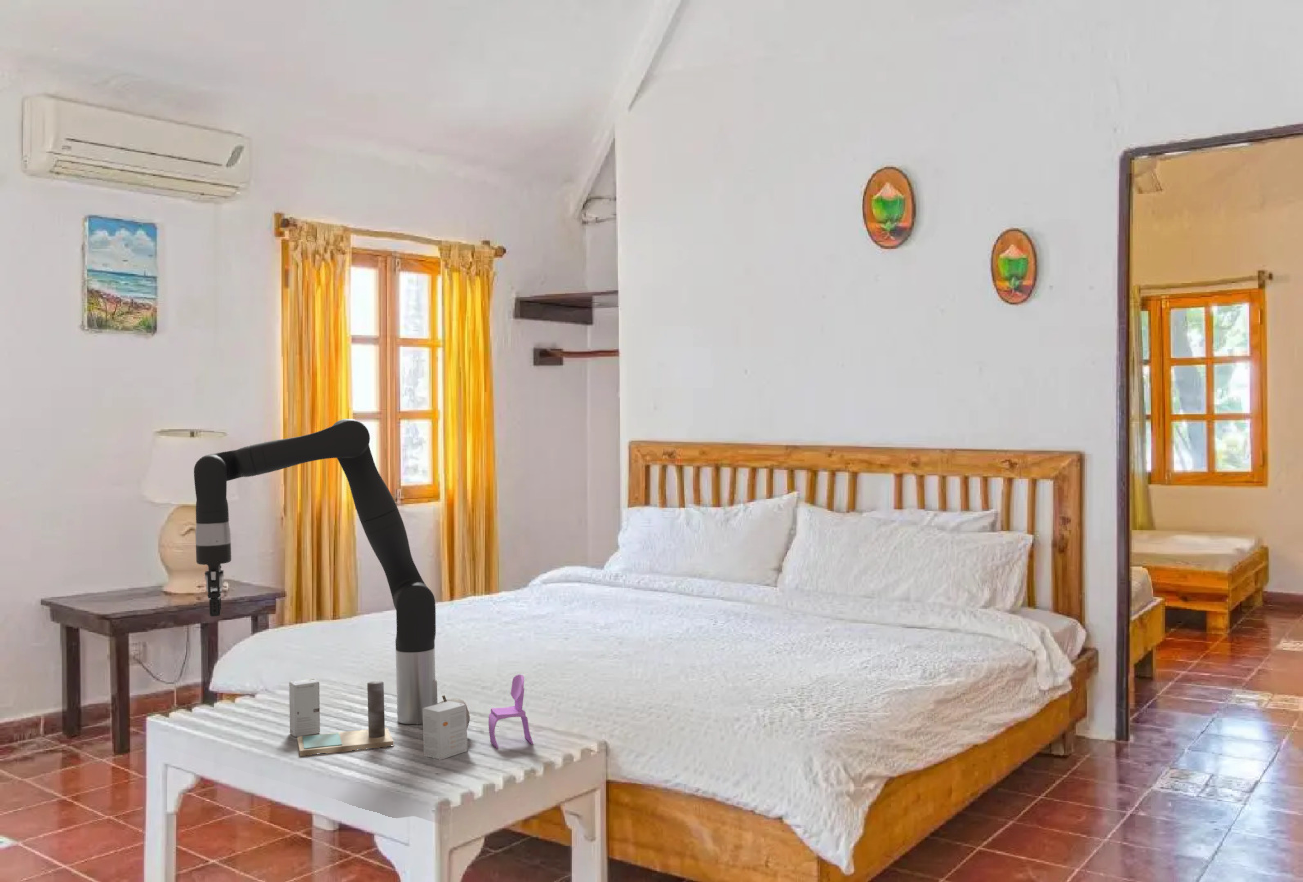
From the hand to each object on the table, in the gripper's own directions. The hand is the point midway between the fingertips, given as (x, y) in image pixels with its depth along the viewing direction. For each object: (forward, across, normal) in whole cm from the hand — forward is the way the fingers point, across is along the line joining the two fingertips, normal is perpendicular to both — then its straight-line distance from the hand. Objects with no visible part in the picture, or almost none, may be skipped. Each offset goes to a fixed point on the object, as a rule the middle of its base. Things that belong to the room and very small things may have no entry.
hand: (215, 613), depth 277 cm
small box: (+30, -30, -47) cm, 63 cm away
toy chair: (+30, -27, -62) cm, 74 cm away
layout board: (+29, -15, -27) cm, 42 cm away
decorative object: (+30, -18, -50) cm, 61 cm away
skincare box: (+30, -2, -19) cm, 35 cm away
